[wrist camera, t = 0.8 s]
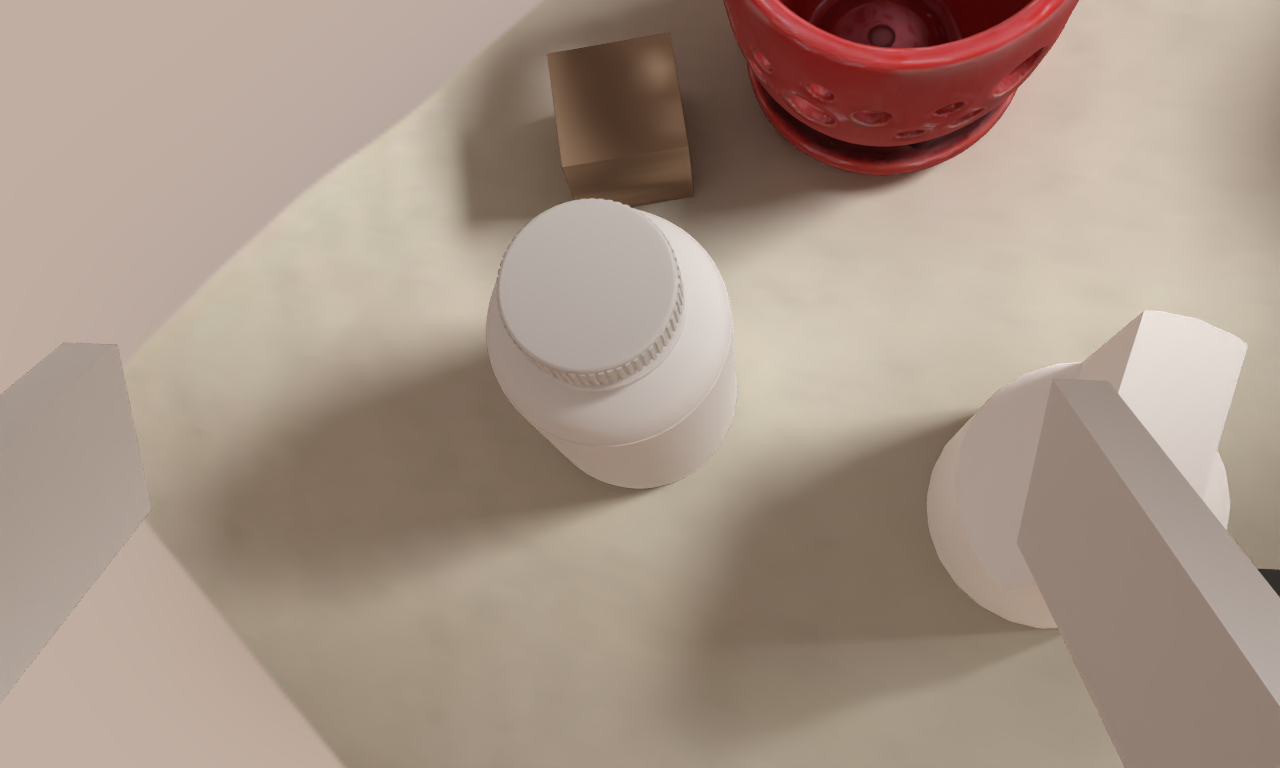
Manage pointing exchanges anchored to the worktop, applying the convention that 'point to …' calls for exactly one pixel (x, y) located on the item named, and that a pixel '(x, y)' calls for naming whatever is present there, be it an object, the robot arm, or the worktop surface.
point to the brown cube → (621, 121)
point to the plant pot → (890, 72)
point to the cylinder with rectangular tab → (1009, 435)
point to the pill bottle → (615, 341)
